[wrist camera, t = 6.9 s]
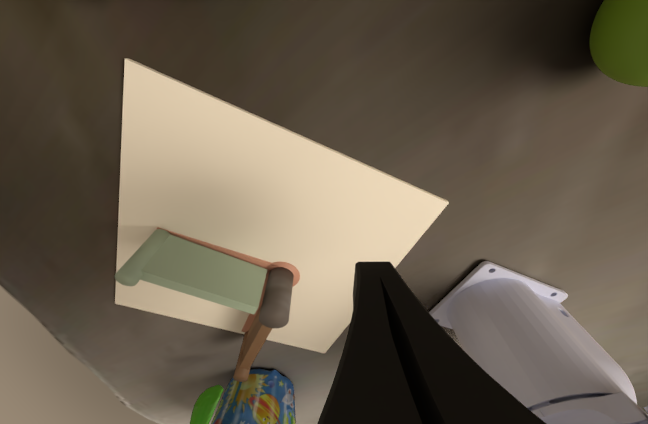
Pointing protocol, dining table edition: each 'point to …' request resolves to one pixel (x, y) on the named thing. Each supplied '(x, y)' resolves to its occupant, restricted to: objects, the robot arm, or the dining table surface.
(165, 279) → the fence gate
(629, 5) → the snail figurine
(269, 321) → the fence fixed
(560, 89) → the dining table surface
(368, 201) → the card
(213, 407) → the snack cup
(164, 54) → the dining table surface
